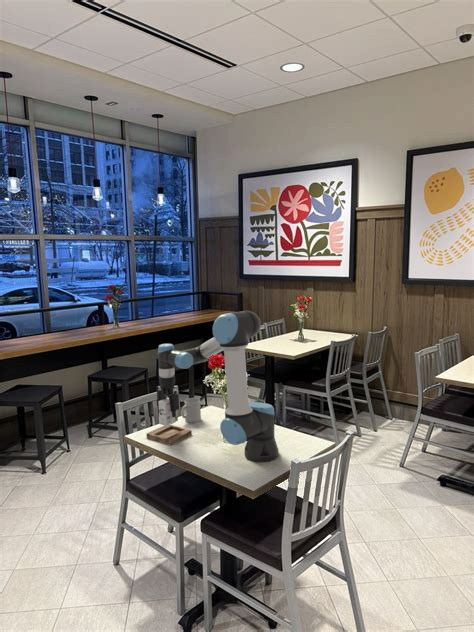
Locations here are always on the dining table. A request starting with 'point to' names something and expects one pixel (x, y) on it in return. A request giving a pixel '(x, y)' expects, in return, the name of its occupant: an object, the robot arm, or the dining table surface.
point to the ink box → (165, 412)
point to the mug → (191, 410)
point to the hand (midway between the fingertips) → (168, 421)
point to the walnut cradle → (169, 434)
